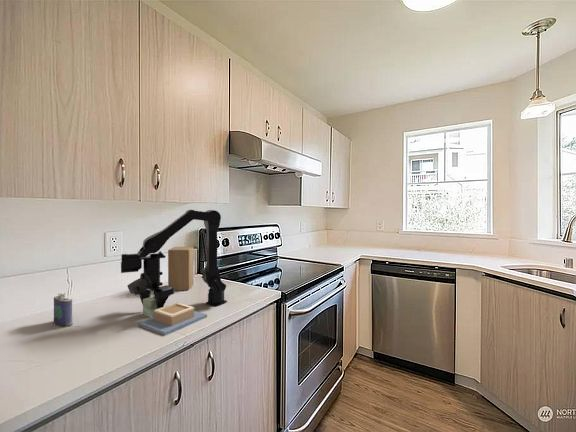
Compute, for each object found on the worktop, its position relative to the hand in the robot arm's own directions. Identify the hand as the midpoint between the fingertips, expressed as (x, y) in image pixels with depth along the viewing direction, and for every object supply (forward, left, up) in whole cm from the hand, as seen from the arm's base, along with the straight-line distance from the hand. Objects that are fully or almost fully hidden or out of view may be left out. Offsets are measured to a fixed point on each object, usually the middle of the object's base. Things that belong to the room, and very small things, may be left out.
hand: (152, 310), depth 110 cm
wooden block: (-29, -19, -2) cm, 35 cm away
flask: (+22, -18, -2) cm, 28 cm away
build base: (0, +13, -1) cm, 13 cm away
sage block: (0, 0, -1) cm, 1 cm away
